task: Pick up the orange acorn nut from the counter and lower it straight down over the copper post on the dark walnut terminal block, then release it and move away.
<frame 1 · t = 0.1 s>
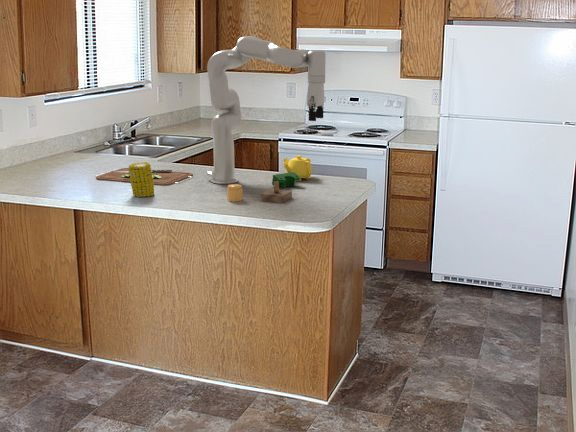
hand: (316, 119, 328), 31 cm above the countertop, fingers open, 9 cm apart
clamp: (286, 187, 341), on the countertop
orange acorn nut: (235, 199, 317), on the countertop
food: (142, 196, 325), on the countertop
teapot: (296, 179, 358), on the countertop
chopping board: (144, 178, 362), on the countertop
post block: (276, 199, 318), on the countertop
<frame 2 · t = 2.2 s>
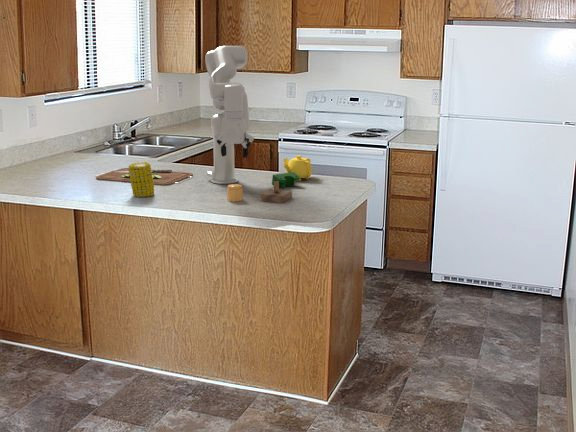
hand: (234, 156, 313), 18 cm above the countertop, fingers open, 9 cm apart
nothing on the countertop moved.
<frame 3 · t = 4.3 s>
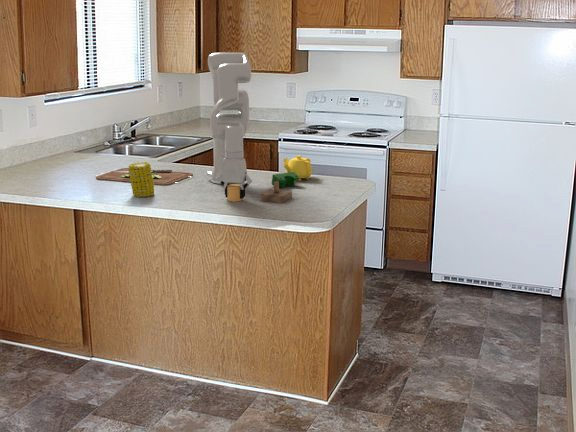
hand: (235, 197, 317), 1 cm above the countertop, fingers closed on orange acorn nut, 6 cm apart
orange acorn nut: (235, 199, 317), on the countertop, touching gripper
everything else where it was.
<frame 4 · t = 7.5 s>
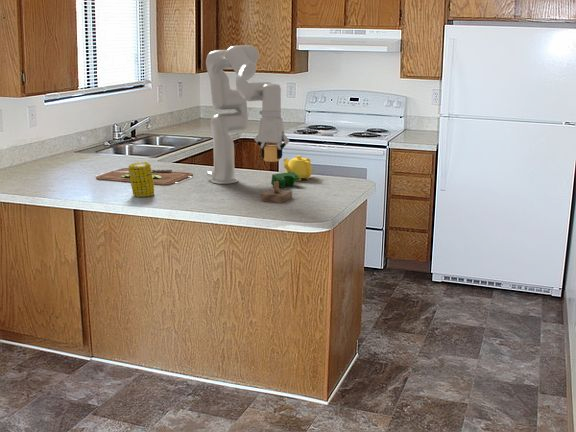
hand: (271, 157, 313), 18 cm above the countertop, fingers closed on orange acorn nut, 6 cm apart
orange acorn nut: (271, 160, 313), point 17 cm above the countertop, touching gripper
everything else where it was.
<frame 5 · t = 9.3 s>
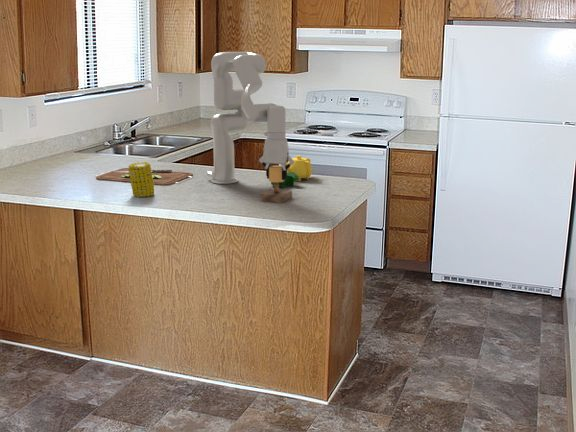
hand: (276, 178, 316), 9 cm above the countertop, fingers closed on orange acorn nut, 6 cm apart
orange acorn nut: (276, 180, 316), point 8 cm above the countertop, touching gripper
everything else where it was.
when the fingers open (5 cm above the countertop, at t = 10.5 s): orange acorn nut stays where it is, resting on post block.
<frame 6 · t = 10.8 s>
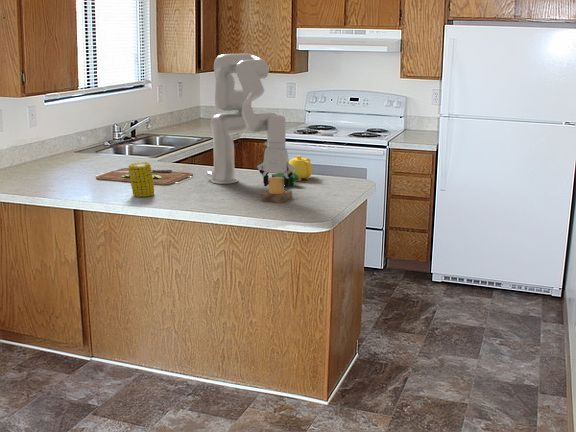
hand: (276, 186, 316), 6 cm above the countertop, fingers open, 8 cm apart
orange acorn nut: (276, 192, 317), point 3 cm above the countertop, touching post block
everything else where it was.
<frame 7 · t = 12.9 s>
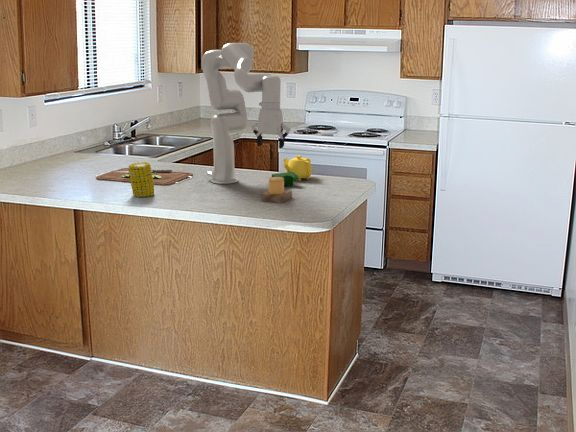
hand: (270, 146, 317), 22 cm above the countertop, fingers open, 9 cm apart
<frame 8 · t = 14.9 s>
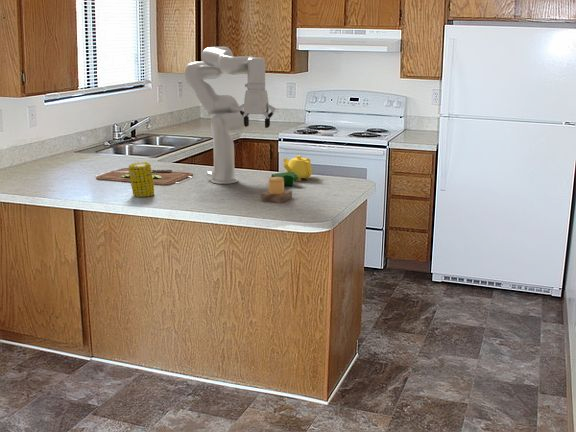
hand: (256, 126, 326), 28 cm above the countertop, fingers open, 9 cm apart
at the end: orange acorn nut 0.0 cm off-centre on the post block, point 3.0 cm above the post block's base; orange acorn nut tilted 0°; the gripper is holding nothing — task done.
